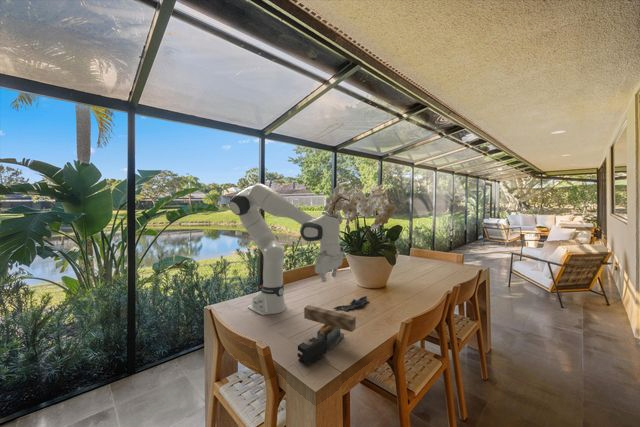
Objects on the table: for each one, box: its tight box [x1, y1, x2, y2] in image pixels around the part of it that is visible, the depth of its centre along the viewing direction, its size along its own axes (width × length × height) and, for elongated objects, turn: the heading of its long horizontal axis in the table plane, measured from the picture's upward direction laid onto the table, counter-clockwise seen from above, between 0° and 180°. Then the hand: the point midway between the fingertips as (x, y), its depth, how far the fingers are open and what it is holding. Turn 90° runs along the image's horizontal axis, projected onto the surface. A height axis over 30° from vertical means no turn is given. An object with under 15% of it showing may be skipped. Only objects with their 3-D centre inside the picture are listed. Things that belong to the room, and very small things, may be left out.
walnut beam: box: [303, 304, 357, 333], centre depth 114 cm, size 24×4×5 cm, turn 59°
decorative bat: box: [332, 295, 370, 312], centre depth 152 cm, size 30×4×10 cm
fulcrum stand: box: [316, 324, 345, 351], centre depth 114 cm, size 8×13×8 cm, turn 149°
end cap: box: [297, 337, 328, 366], centre depth 101 cm, size 10×7×7 cm
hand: (329, 279), depth 119 cm, fingers open, 8 cm apart
